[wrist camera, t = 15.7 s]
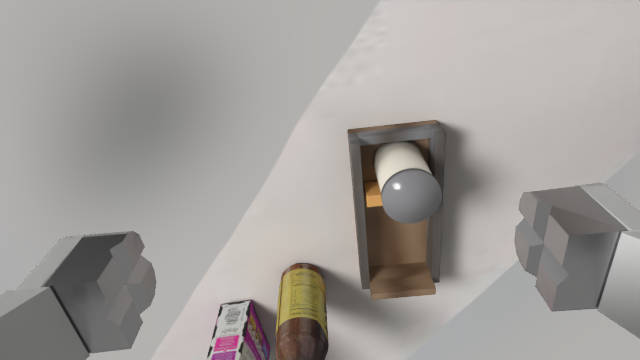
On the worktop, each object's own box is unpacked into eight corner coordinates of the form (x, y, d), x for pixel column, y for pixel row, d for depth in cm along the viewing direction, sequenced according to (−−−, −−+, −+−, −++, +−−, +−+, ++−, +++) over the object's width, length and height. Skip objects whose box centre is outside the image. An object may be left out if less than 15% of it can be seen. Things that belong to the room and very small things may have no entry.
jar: (424, 135, 47) (447, 173, 39) (417, 180, 50) (436, 224, 42) (373, 134, 47) (385, 172, 39) (369, 178, 50) (379, 222, 42)
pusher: (425, 176, 50) (432, 189, 47) (425, 187, 50) (431, 200, 48) (363, 182, 50) (366, 196, 47) (364, 193, 51) (367, 207, 48)
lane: (435, 119, 47) (450, 141, 42) (431, 261, 58) (443, 293, 53) (347, 129, 48) (351, 152, 43) (359, 268, 58) (364, 300, 53)
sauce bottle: (310, 299, 61) (309, 440, 44) (272, 283, 59) (255, 423, 42) (334, 269, 58) (343, 407, 41) (295, 252, 57) (287, 388, 39)
